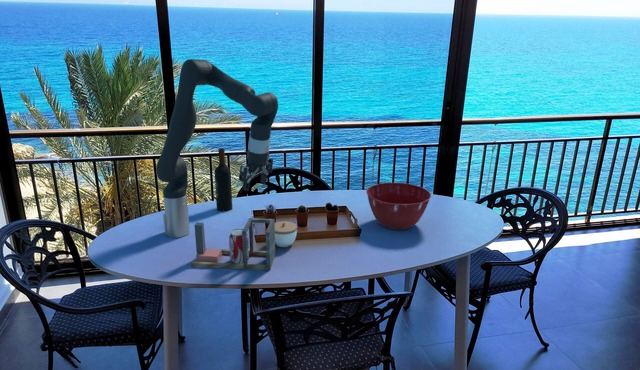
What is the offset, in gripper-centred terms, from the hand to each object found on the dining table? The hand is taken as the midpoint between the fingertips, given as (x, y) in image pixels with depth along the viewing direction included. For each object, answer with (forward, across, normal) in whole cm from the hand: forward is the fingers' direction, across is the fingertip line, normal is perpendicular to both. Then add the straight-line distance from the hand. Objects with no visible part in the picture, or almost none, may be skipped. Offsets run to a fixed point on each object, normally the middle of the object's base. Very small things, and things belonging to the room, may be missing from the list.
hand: (254, 186), depth 167 cm
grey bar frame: (+26, +12, +6) cm, 29 cm away
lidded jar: (+26, -10, +10) cm, 30 cm away
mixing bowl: (+24, -59, +33) cm, 72 cm away
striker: (+27, +18, -2) cm, 32 cm away
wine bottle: (+39, -19, -37) cm, 57 cm away
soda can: (+26, +11, +7) cm, 29 cm away
